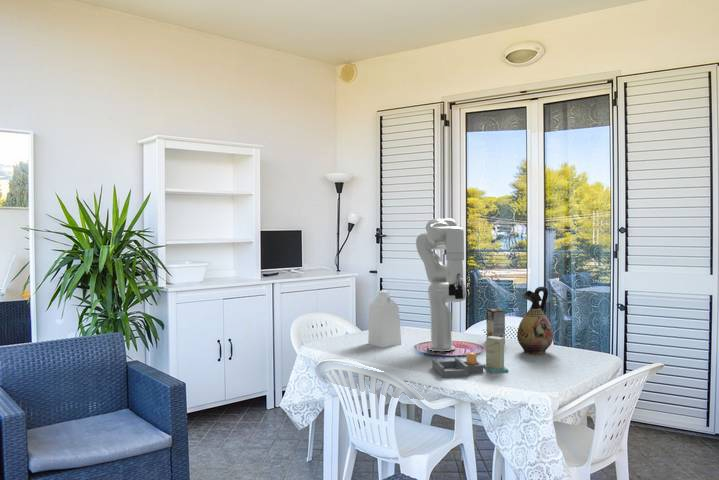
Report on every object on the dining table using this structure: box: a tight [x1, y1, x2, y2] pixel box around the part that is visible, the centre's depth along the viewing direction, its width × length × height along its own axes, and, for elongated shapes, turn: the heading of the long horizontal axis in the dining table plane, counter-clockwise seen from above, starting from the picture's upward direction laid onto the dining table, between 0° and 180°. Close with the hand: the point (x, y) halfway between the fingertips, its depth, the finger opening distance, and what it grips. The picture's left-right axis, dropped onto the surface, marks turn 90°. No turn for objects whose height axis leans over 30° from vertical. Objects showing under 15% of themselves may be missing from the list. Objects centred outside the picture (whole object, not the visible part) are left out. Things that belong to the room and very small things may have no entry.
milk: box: [367, 290, 402, 349], centre depth 286 cm, size 12×12×26 cm
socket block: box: [431, 356, 484, 379], centre depth 233 cm, size 15×18×4 cm
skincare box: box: [485, 336, 505, 369], centre depth 234 cm, size 6×4×12 cm
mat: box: [482, 363, 509, 374], centre depth 235 cm, size 10×7×1 cm
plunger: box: [465, 352, 478, 365], centre depth 234 cm, size 4×4×6 cm
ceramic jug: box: [516, 286, 554, 356], centre depth 260 cm, size 17×15×30 cm
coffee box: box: [485, 307, 506, 344], centre depth 284 cm, size 9×6×16 cm
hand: (455, 297), depth 245 cm, fingers open, 9 cm apart
